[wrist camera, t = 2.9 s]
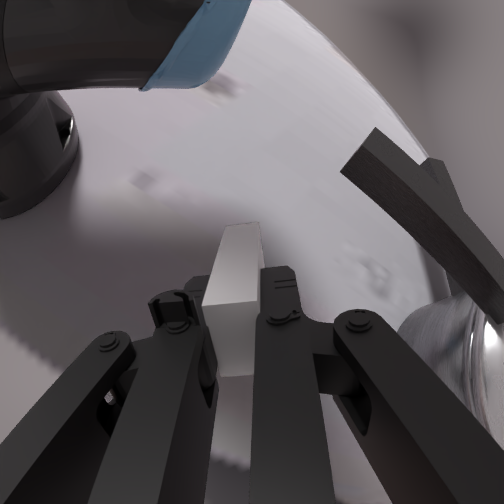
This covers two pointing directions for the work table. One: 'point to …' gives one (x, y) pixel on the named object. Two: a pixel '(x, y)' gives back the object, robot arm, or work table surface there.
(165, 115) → the work table surface
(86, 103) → the work table surface
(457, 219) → the lid
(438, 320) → the pot
